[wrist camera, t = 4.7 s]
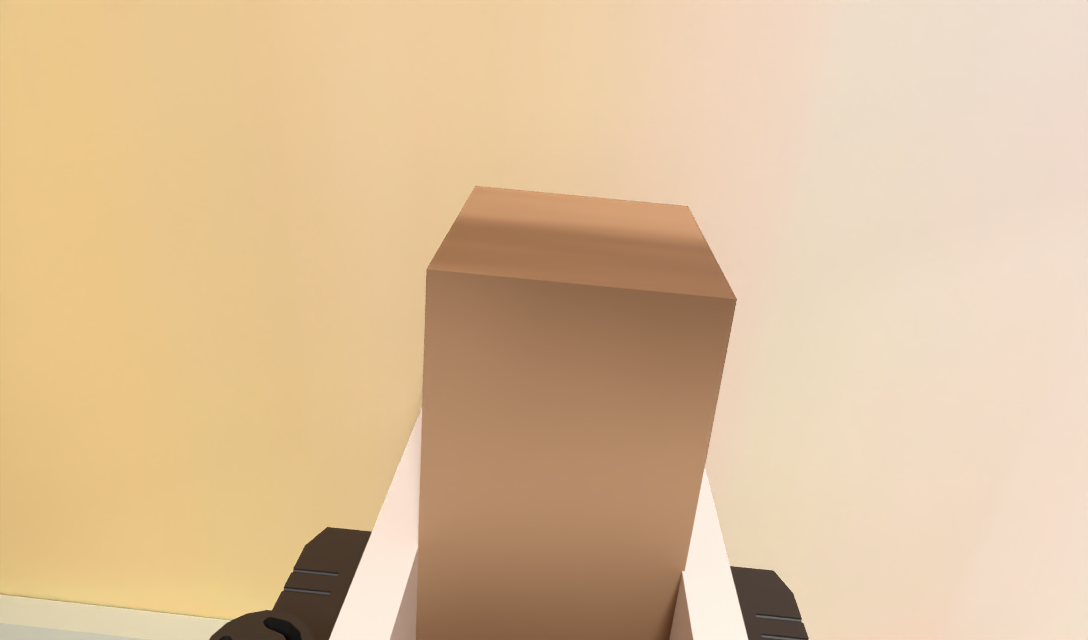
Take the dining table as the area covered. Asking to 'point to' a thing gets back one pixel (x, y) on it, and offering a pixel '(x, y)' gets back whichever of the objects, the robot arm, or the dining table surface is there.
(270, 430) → the dining table surface
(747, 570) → the robot arm
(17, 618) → the jig
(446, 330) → the plank
